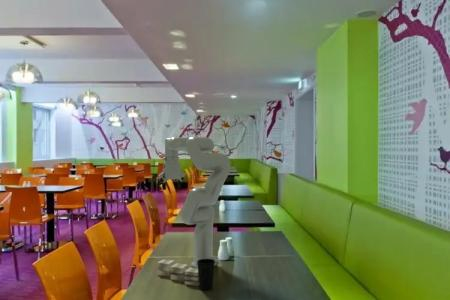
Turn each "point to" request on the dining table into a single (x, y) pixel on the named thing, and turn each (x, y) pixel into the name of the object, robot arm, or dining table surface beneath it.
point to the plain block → (164, 267)
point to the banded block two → (191, 277)
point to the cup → (206, 274)
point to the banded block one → (178, 271)
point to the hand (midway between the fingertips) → (171, 189)
